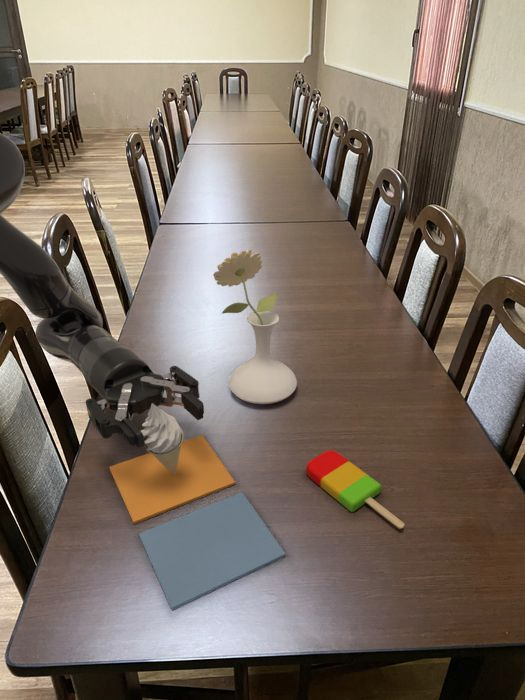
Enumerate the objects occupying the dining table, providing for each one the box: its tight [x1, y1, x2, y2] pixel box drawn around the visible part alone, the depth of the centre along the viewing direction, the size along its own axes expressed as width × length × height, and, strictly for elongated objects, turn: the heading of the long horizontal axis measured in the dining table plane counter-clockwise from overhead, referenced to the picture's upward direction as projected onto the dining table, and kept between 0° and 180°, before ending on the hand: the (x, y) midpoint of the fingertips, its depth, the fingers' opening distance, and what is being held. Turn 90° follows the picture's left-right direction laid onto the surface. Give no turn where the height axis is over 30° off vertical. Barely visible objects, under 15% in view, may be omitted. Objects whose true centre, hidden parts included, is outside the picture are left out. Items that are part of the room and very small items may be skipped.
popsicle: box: [306, 449, 405, 530], centre depth 70 cm, size 6×15×2 cm, turn 39°
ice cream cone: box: [140, 403, 184, 475], centre depth 68 cm, size 5×5×15 cm
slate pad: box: [138, 491, 286, 611], centre depth 63 cm, size 14×11×1 cm
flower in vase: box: [213, 249, 298, 405], centre depth 84 cm, size 13×11×25 cm
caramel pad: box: [109, 434, 236, 525], centre depth 73 cm, size 14×11×1 cm
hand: (172, 427), depth 67 cm, fingers open, 8 cm apart
